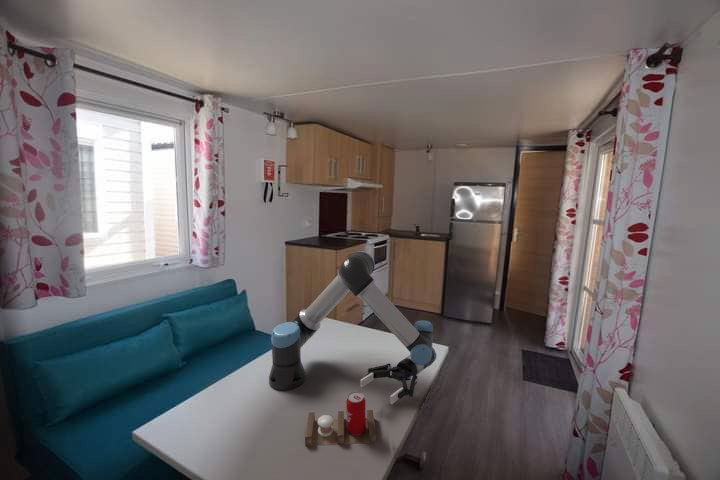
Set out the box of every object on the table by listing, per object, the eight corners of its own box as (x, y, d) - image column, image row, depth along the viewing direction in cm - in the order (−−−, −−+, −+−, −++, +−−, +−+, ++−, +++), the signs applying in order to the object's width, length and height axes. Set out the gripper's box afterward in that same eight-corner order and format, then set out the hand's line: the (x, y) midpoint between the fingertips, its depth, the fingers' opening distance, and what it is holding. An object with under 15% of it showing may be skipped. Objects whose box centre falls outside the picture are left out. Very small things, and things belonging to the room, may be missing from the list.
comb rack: (305, 448, 96) (304, 436, 96) (309, 423, 107) (308, 412, 106) (376, 445, 97) (376, 433, 97) (372, 420, 108) (372, 409, 108)
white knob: (317, 437, 99) (317, 426, 99) (318, 426, 104) (318, 415, 104) (333, 437, 99) (332, 425, 99) (333, 425, 104) (333, 414, 104)
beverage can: (354, 420, 107) (354, 388, 105) (369, 428, 103) (369, 395, 101) (342, 431, 102) (342, 397, 100) (357, 440, 98) (357, 405, 96)
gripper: (437, 389, 116) (404, 418, 100) (385, 364, 132) (349, 386, 117) (438, 370, 115) (405, 397, 99) (385, 348, 131) (349, 368, 116)
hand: (375, 391), depth 108 cm, fingers open, 13 cm apart
